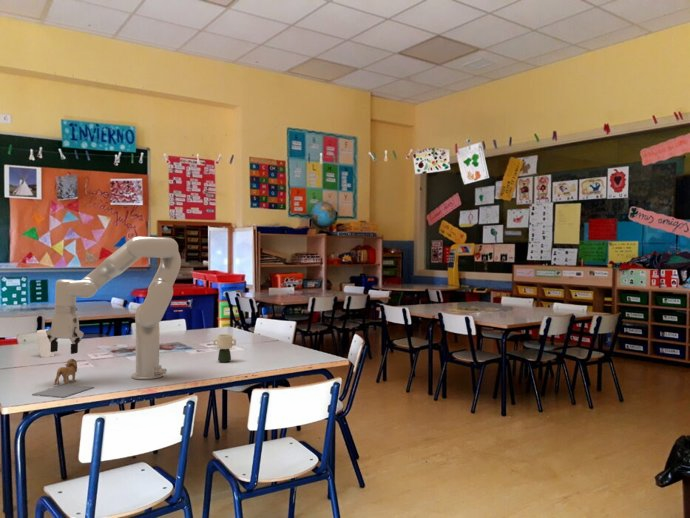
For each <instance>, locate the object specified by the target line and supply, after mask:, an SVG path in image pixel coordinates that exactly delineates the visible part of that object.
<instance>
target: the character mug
mask: <svg viewBox="0 0 690 518" xmlns="http://www.w3.org/2000/svg"><path fill="white" fill-rule="evenodd" d="M216 341H217V342H216ZM212 342H213V346H217V347H216V348H217V349H219V351H218V356H217V357H218V358H217V361H219V362H221V363H223V362H224V363H225V362H227V363H228V362H229V361H231V360H232V355H231V350H230V349H231V348H232V347H233V346H237V338H233V335H232V334H230V333H222V334H217V337H216V338H213V340H212Z"/></svg>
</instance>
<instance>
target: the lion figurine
mask: <svg viewBox="0 0 690 518" xmlns="http://www.w3.org/2000/svg"><path fill="white" fill-rule="evenodd" d="M77 372H78V363H77V360H76V359H75V358H69V359H68V360H67V361H66V363H65V367H64V366H61V367H59V368H58V369H57V371H56V377H55V379H54V384H53V385H55V386H60V380H59V379H60V378H61V376H62V378H63V379H62V381H63V383H64V384H67V385H69V381H70V380H69V376H72V380H71V381H72V382H76V379H75V378H76V374H77Z"/></svg>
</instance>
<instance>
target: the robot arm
mask: <svg viewBox="0 0 690 518" xmlns="http://www.w3.org/2000/svg"><path fill="white" fill-rule="evenodd" d="M141 258H156V259H157V258H158V259H160V262H159V266H158V268H157V270H156V273H155V274H154V277H153V278H152V280H151V282H150V284H149V286H148V288H147V295H146V296H145V298H144V301H143V302H142V303H140V304H139V305H138V306H137V308H136V309H135V315H134V317H135V319H134V320H135V321H134V322H135V372H134V373H132V374H131V378H132V379H135V380H153V379H158V378H161V377H163V376H164V375H166V373H167V368H162V365H161V364H160V322H161V321H162V319H163V318H164V315H165V313H166V312H167V308H169V305H170V302H171V301H172V298H173V295H174V287H173V286H174V284H175V281H176V279H177V278H178V275H179V273H180V269H181V265H182V259H181V254H180V252H179V244H178V242H177V241H176V240H175V239H174V238H171V237H159V236H155V237H154V236H140V235H139V236H134V237H132V238H130V239H129V240H127V241H126V242H125V243H124V244H123V245H122V246H120V247H118V249H116V250H115V251H114V252H113V253H112V254H110V255H109V256H108V257H106V258H105V259H104V260H103V261H102V262H101V263H100V264H98V266H97V267H95V268H94V269H93V270H92V271H91V272H89V273H88V274H87V275H86V276H84V277H83V278H82V279H81V280H78V279H77V280H76V279H75V280H74V279H67V278H66V279H65V278H64V279H57V280H56V281H55V291H54V297H55V298H54V313H53V315H52V321H51V327H50V328H47V329H48V330H46V334H47V337H48V339H49V342H51V349H50V352H55V353H56V352H58V348H59V345H58V344H59V342H58V340H59V339H62V340H63V339H64V340H70V342H71V344H70V354H71V355H75V354H79V353H78V352H79V351H78V350H79V349H78V348H79V344H80V342H81V341H82V339H83V337H84V332H83V331H82V330H80V321H79V316H78V313H76V312H77V311H78V307H77V298H83V299H88V298H92V297H93V296H95V295H96V293H97V291H98V290H100V289H101V288H102V287H103V286H104V285H106V284H107V283H108V282H110V281H111V280H112V279H114V278H116V277H118V276H120V275H121V274H122V273H124V272H125V271H126V270H127V269H129V268H130V267H131V266H133V265H134V264H135V263H136V262H137V261H138V260H140V259H141Z"/></svg>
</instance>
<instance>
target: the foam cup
mask: <svg viewBox="0 0 690 518" xmlns="http://www.w3.org/2000/svg"><path fill="white" fill-rule="evenodd" d="M48 329H49V328H47V329H39V330H36V337H37V338H36V339H37V346H38V351H39V357H40V356H41V357H40V358H51V357H50V356H53V357H55V356H56V355H55V354H56V352H50V349H51V342H49V339H48V337H47V334H46V330H48Z"/></svg>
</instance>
